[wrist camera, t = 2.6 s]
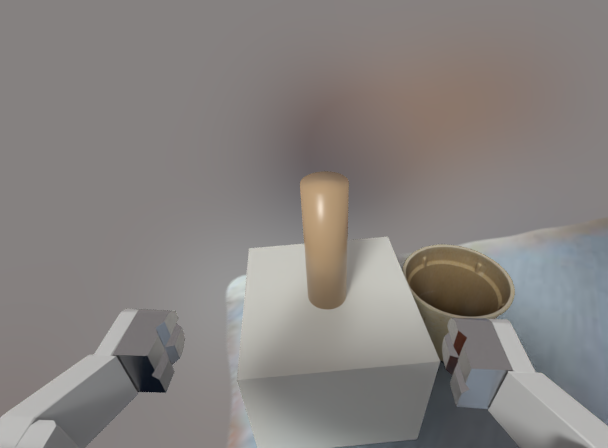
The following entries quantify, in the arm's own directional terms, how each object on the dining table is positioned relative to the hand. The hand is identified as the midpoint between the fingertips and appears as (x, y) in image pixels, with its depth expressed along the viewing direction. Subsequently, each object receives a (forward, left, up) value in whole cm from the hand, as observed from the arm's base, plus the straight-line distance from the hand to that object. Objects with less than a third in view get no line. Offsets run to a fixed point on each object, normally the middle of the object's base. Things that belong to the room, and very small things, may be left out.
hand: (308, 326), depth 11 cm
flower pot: (-14, -15, -23) cm, 31 cm away
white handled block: (-2, -12, -23) cm, 26 cm away
